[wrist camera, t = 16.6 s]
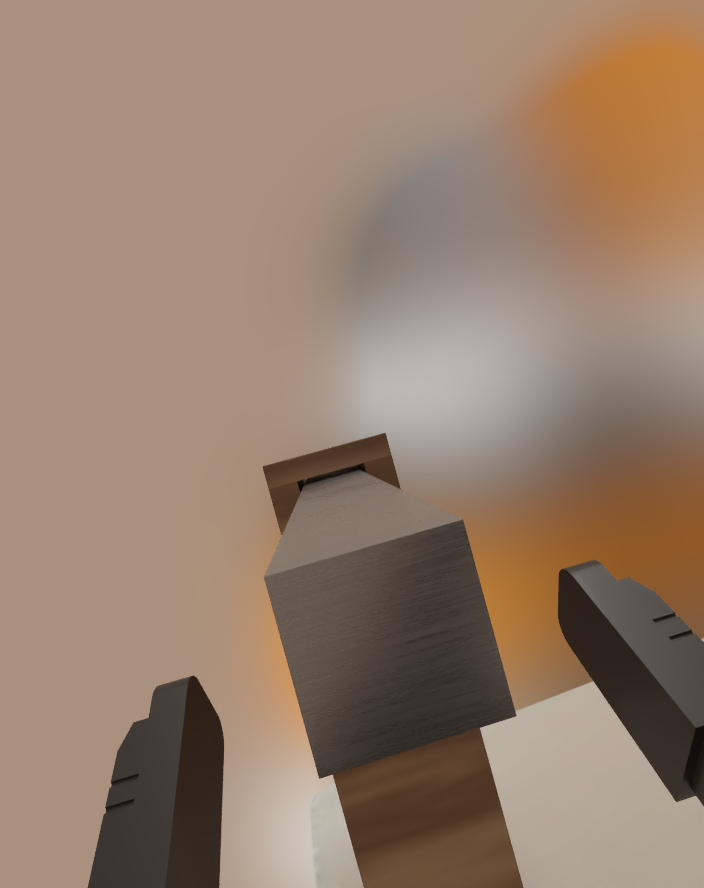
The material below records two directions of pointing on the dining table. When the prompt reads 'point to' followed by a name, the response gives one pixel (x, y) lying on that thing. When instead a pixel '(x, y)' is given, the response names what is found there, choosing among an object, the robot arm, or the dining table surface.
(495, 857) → the tower
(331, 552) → the shaft
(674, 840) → the dining table surface
